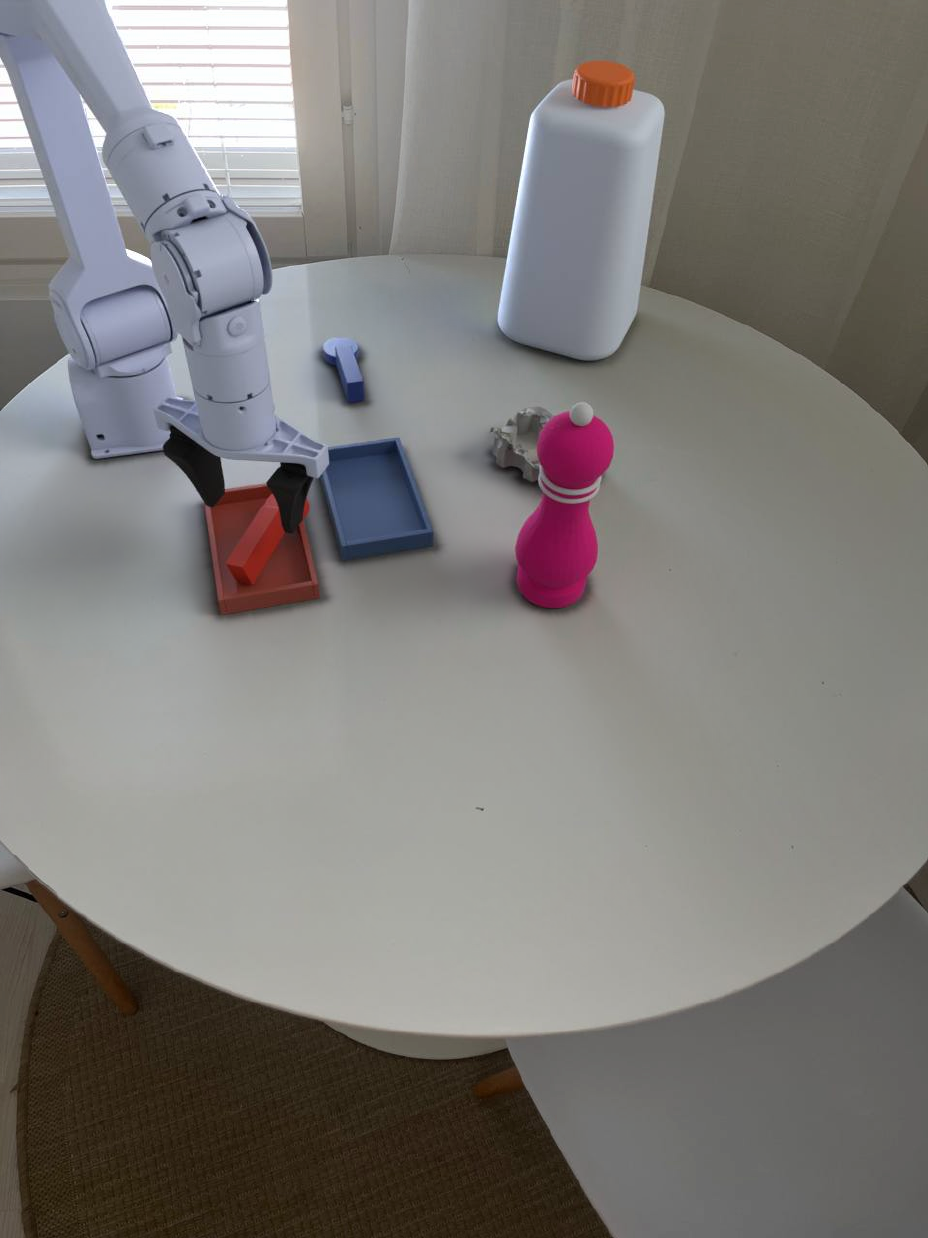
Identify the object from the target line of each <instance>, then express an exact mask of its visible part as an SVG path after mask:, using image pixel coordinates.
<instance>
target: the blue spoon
mask: <svg viewBox="0 0 928 1238" xmlns="http://www.w3.org/2000/svg"><path fill="white" fill-rule="evenodd" d="M322 351H323V353H322V354H323V359H324V361H325V362H326V363H328V364H329V365H332V366H336V368H337V372H338V375H339V379H340V381H341V385H342V388H343V391H344V394H345V397H346V401H347V403H348V404H350V403H359V402H364V401H365V381H364V378H363V376H362V371H361V370H360V366H359V363H358V360H359V356H360V353H359V352H360V351H359V344H358V342H357V341H356V340H354V339H352V338H349V337H346V336H337V337H331V338H329V339H328V340H326V341H325V342H324V343H323V345H322Z"/></svg>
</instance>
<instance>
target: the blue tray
mask: <svg viewBox="0 0 928 1238" xmlns="http://www.w3.org/2000/svg"><path fill="white" fill-rule="evenodd" d="M328 455H329V465H328V466H327V468H326V469H325V470H324V472H323V473H322V474H321V475H320V477H319V478H320V481H321V484H322V489H323V492H324V495H325V500H326V504H327V507H328V511H329V514H330V518H331V522H332V527H333V530H334V533H335V537H336V541H337V545H338V548H339V552H340V556H341V560H342V562H344V561H350V560H351V561H352V560H357V559H362V558H363V559H364V558H368V557H369V558H370V557H375V556H382V555H387V554H394V553H399V552H404V551H411V550H416V549H422V548H429V547H433V546H434V529H433V527H432V524H431V521H430V519H429V516H428V513H427V510H426V508H425V505H424V502H423V499H422V497H421V493H420V491H419V488H418V485H417V483H416V480H415V477H414V475H413V471H412V469H411V466H410V463H409V460H408V458H407V454H406V452H405V450H404V447H403V444H402V441H401V438H400V437H399V436H397V437H391V438H383V439H376V440H368V441H362V442H355V443H354V442H353V443H347V444H346V443H345V444H339V445H332V446H328Z"/></svg>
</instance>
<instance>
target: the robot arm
mask: <svg viewBox="0 0 928 1238" xmlns="http://www.w3.org/2000/svg"><path fill="white" fill-rule="evenodd" d="M112 9H113V0H0V60H1V63H2V64H3V66H4V68H5V70H6V72H7V75H8V79H9V81H10V83H11V87H12V90H13V93H14V95H15V99H16V102H17V104H18V107H19V111H20V113H21V116H22V119H23V122H24V126H25V127H26V131H27V134H28V137H29V139H30V142H31V146H32V148H33V151H34V154H35V157H36V161H37V163H38V166H39V170H40V172H41V175H42V179H43V180H44V184H45V186H46V190H47V192H48V195H49V198H50V201H51V204H52V207H53V210H54V212H55V215H56V216H55V217H56V218H57V222H58V225H59V228H60V230H61V234H62V236H63V239H64V242H65V245H66V248H67V251H68V255H69V257H68V258H67V260H66V261H65V262H64V264H63V265H62V267H61V268H60V269H59V270H58V271H57V272H56V274H55V275H54V276H53V278H52V279H51V281H50V282H49V284H48V289H49V291H48V296H49V298H50V301H51V305H52V309H53V317H54V322H55V325H56V328H57V330H58V331H57V332H58V333H59V336H60V338H61V341H62V343H63V344H64V346H65V348H66V350H67V352H68V354H69V355H70V357H69V358H68V359H67V372H68V378H69V385H70V389H71V392H72V396H73V397H72V398H73V400H74V403H75V406H76V409H77V412H78V415H79V419H80V421H81V424H82V427H83V431H84V433H85V436H86V439H87V442H88V445H89V448H90V455H91V457H92V458H93V459H95V460H98V459H106V458H107V459H108V458H113V457H121V456H128V455H135V454H137V455H138V454H143V453H150V452H159V451H163V454H164V456H165V457H166V458H168V459H169V460H170V461H172V463H174V464H175V465H176V466H177V467H178V468H179V469H180V470H181V471H182V472H183V474H184V475H185V476H186V477H187V478H188V479H189V481H190V482H191V484H192V485H193V487H194V489H195V491H196V492H197V493H198V495H199V496H200V498H201V500H202V501H203V504H204V503H205V504H206V506H208V507H211V508H213V507H214V506H215V504H216V503H217V502H218V501H219V500H220V499H221V497H222V496H223V495H224V494H225V489H226V485H225V484H226V483H225V476H224V469H223V466H222V459H226V460H231V461H232V460H233V461H251V462H267V463H269V462H270V463H279V464H280V465H279V467H277V469H275V471H274V472H273V473H272V475H271V476H270V477H269V478H268V479H267V481H266V482H265V483H266V484H267V487H268V488H269V489H270V490H271V492H272V493H273V495H274V497H275V499H276V502H277V504H278V507H279V512H280V518H281V524H282V527H283V529H284V531H285V532H287V533H290V534H292V533H293V532H294V531H295V529H296V528H297V527H298V525H299V524H300V523H301V521H302V520H303V521H304V519H303V512H304V506H305V501H306V497H308V493H309V490H310V488H311V486H312V483H313V480H314V479H319V478H321V477H320V475H321V474H322V473H323V472H324V470H325V469H326V468H327V466H328V465H329V455H328V447H329V446H328V444H325V443H322V442H319V441H317V440H315V439H313V438H311V437H309V436H308V435H306V434H305V433H304V432H303V431H301V430H299V429H297V428H296V427H294V426H293V425H292V424H290V423H289V422H287V421H286V420H284V419H282V418H281V417H280V416H278V415H277V414H276V413H275V411H276V409H275V403H274V399H273V392H272V385H271V378H270V377H271V375H270V368H269V361H268V354H267V345H266V339H265V331H264V325H263V315H262V309H261V302H260V301H261V300H260V299H259V298H261V296H262V295H264V296H265V295H267V294H268V295H269V293H270V292H271V290H272V288H273V287H272V286H273V269H272V263H271V257H270V254H269V252H268V248H267V246H266V243H265V241H264V238H263V235H262V234H261V233H260V231H259V229H258V227H257V224H256V222H255V221H254V219H253V217H252V216H251V215H250V214H249V213H248V212H247V211H246V210H245V209H243V208H242V207H240V206H238V205H237V204H236V203H235V201H234V199H233V197H232V196H230V195H229V194H220V192H219V190H218V188H217V187H216V185H215V183H214V182H213V180H212V178H211V176H210V175H209V173H208V171H207V169H206V167H205V166H204V164H203V162H202V160H201V158H200V157H199V154H198V153H197V151H196V149H195V148H194V145H193V144H192V142H191V141H190V138H189V136H188V135H187V132H186V131H185V129H184V128H183V126H182V124H181V122H179V120H178V119H177V118H176V117H174V116H173V115H171V114H170V113H167V112H166V111H161V110H158V109H155V108H154V107H153V105H152V102H151V101H150V99H149V97H148V93H147V92H146V90H145V88H144V86H143V84H142V81H141V79H140V76H139V74H138V73H137V70H136V68H135V66H134V64H133V61H132V59H131V57H130V54H129V52H128V51H127V49H126V46H125V44H124V42H123V40H122V37H121V35H120V33H119V31H118V29H117V26H116V25H115V22H114V20H113V18H112V16H111V15H112ZM83 101H84V103H85V104H86V106H87V107H88V109H89V110H90V112H91V113H92V114H93V116H94V117H95V119H96V120H97V122H98V124H99V125H100V127H101V128H102V129H103V131H104V133H105V137H104V141H103V143H102V147H101V158H102V161H103V164H104V165H105V167H106V169H107V171H108V172H109V175H110V176H111V178H112V180H113V181H114V183H115V185H116V187H117V188H118V190H119V192H120V193H121V195H122V197H123V199H124V201H125V202H126V204H127V206H128V208H129V210H130V211H131V213H132V215H133V216H134V218H135V220H136V222H137V224H138V226H139V227H140V229H141V231H142V232H143V234H144V236H145V238H146V240H147V242H148V243H149V245H150V258H148V257H146V256H144V255H142V254H140V253H137V252H135V251H132V250H130V249H127V248H126V245H125V241H124V237H123V235H122V230H121V227H120V224H119V221H118V217H117V214H116V210H115V207H114V203H113V200H112V196H111V194H110V190H109V187H108V183H107V180H106V177H105V173H104V170H103V167H102V166H103V165H102V164H101V159H100V156H99V153H98V150H97V146H96V142H95V140H94V136H93V132H92V128H91V126H90V123H89V119H88V116H87V113H86V109H85V105H84V103H83ZM179 335H180V336H181V340H182V344H183V350H184V354H185V358H186V363H187V368H188V372H189V377H190V382H191V386H192V391H193V395H194V400H192V399H191V400H190V399H184V398H183V397H180V396H177V393H176V388H175V384H174V380H173V376H172V371H171V367H170V363H169V358H168V355H171V354H172V353H173V348H172V344H171V343H173V342H175V341H177V339H178V337H179Z"/></svg>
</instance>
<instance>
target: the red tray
mask: <svg viewBox="0 0 928 1238" xmlns="http://www.w3.org/2000/svg"><path fill="white" fill-rule="evenodd" d="M271 494H273V493H272V492H271V490H270V489H269V488H268V487H267V484H266V482H263V483H256V484H251V485H250V484H249V485H244V486H243V485H242V486H237V487H236V486H235V487H230V488H225V494H224V495H223V496H222V497H221V499H220V500H219V501H218V502H217V503H216V504H215V506H214V507H213V508H211V507H208V506H206V504H205V503H204V502H203V504H204V511H205V519H206V526H207V531H208V533H207V534H208V539H209V546H210V554H211V560H212V567H213V573H214V574H213V575H214V582H215V589H216V594H217V602H218V606H219V611H220V615H221V616H224V615H229V614H235V613H242V612H248V611H253V610H258V609H264V608H271V607H276V606H283V605H287V604H292V603H298V602H304V601H311V600H317V599H320V598H321V596H320V586H319V580H318V577H317V572H316V567H315V564H314V560H313V556H312V551H311V547H310V542H309V538H308V534H307V530H306V526H305V522H304V519H303V520H302V521H301V523H300V524H299V525H298V527H297V528H296V529H295V531H294V532H293V533H292V534H290V533H287V532H285V534H284V535H283V537H282V539H281V540H280V542H279V543H278V545H277V547H276V548H275V550H274V552H273V553H272V555H271V556H270V558H269V560H268V561H267V563H266V565H265V566H264V568H263V570H262V571H261V573H260V574H259V576H258V578H257V579H256V581H255V583H254V584H253V585H249V584H245V583H240V582H236V580H235V579H234V577H233V575H232V574H231V572H230V570H229V569H228V567H227V565H226V562H227V560H228V559H229V557H230V556H231V554H232V552H233V551H234V549H235V548H236V546H237V545H238V543H239V542H240V540H241V538H242V537H243V535H244V534H245V532H246V531H247V529H248V527H249V526H250V524H251V523H252V521H253V520H254V518H255V517H256V515H257V513H258V512H259V510H260V509H261V507H262V506H263V505H264V506H265V502H266V500H267V499H268V497H269V496H270V495H271Z"/></svg>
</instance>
